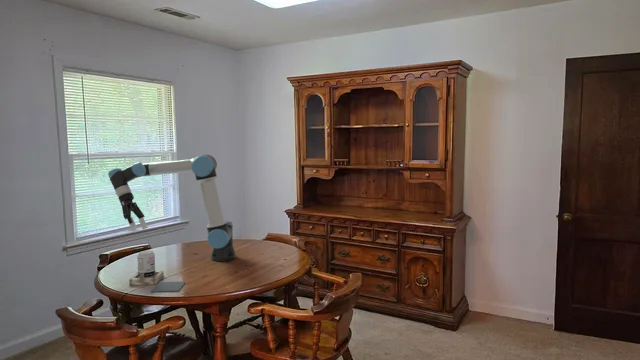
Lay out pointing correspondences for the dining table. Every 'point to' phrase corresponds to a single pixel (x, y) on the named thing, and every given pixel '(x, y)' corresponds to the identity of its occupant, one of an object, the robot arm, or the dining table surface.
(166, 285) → the slate mat
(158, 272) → the holder collar
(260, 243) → the dining table surface
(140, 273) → the supplement can
